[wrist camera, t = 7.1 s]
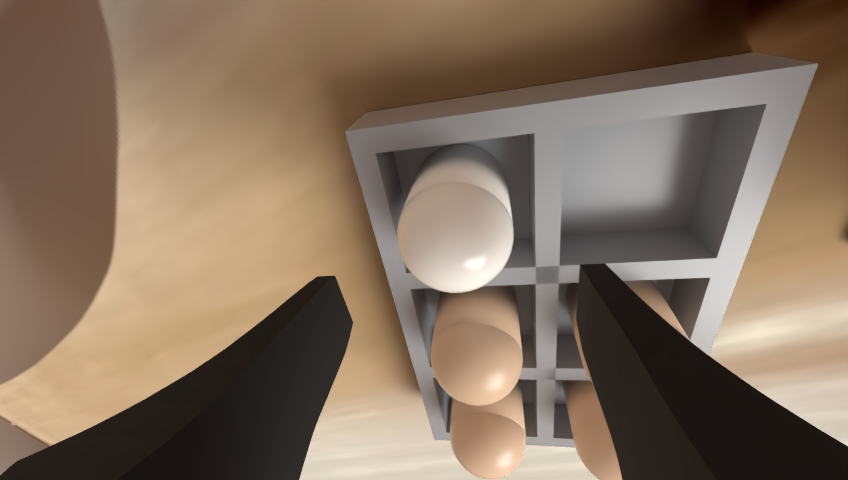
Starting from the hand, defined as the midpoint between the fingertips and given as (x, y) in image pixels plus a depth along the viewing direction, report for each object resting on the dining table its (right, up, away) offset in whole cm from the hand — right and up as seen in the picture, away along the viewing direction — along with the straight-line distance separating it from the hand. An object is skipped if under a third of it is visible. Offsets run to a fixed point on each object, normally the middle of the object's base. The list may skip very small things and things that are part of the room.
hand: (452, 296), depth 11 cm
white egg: (+1, +4, +6) cm, 8 cm away
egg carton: (+6, -1, +10) cm, 11 cm away
